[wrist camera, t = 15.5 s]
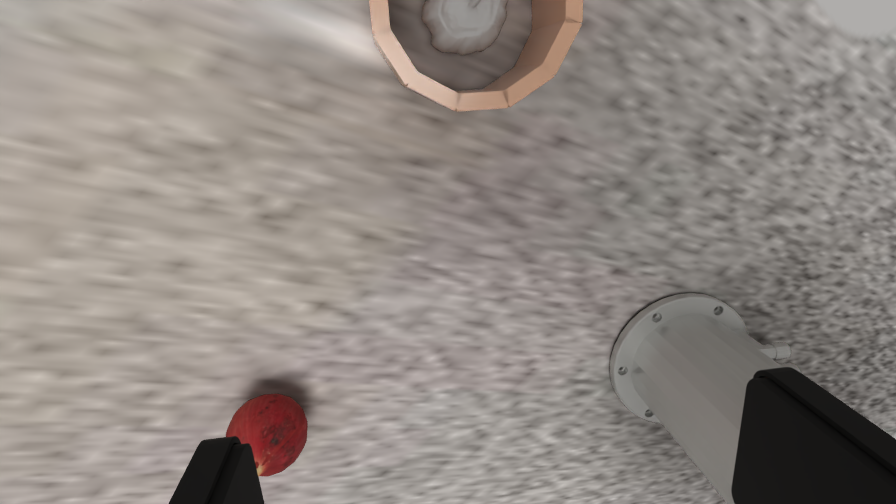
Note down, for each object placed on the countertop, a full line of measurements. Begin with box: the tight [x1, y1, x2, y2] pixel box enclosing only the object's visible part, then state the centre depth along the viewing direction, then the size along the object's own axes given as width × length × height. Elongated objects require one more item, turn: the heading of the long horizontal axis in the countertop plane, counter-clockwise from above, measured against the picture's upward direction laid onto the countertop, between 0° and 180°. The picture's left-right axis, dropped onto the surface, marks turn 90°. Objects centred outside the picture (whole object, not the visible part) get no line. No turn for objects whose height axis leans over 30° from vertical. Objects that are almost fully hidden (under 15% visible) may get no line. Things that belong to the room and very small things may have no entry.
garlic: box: [422, 0, 507, 55], centre depth 33 cm, size 6×5×5 cm
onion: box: [226, 394, 307, 476], centre depth 39 cm, size 6×6×8 cm
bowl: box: [369, 0, 583, 112], centre depth 32 cm, size 12×12×7 cm
